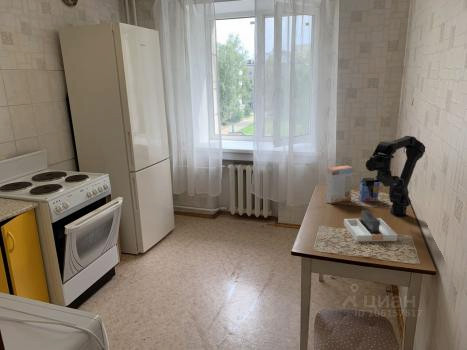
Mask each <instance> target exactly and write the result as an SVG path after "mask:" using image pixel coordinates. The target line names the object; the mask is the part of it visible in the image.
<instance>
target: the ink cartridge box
mask: <svg viewBox="0 0 467 350" xmlns="http://www.w3.org/2000/svg"><path fill="white" fill-rule="evenodd" d="M370 178H371V179H373V180H375V177H370ZM380 184H381V183H374V185H373V186H374V189H373V198H371V196H370V193H369V190H368V187H367V186H365V185H364V184H363V183H362V179H360V182H359V194H358V199H359V200H360V202H364V203H365V202H366V201H367V202H368V201H377V202H378V198H379V191H380Z"/></svg>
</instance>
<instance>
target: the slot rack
mask: <svg viewBox="0 0 467 350" xmlns="http://www.w3.org/2000/svg"><path fill="white" fill-rule="evenodd" d="M376 218H377V217H376ZM377 219H378V220H379V221H380V225H379V234H370V233H369V231H368V230H367V229H366V228H365V227H364V226H363V225H362V223H361V217H358V218H344V220H343V226H344V227H345V228H346V229H347V231H348V232H349V233H350V234H351V237H352V238H353V239H354V240H355V241H356V242H357V243H358V242H397V241H398V238H399V237H398V236H399V235H398V234H397V232H396V231H394V230H393V228H391V227H390V226H389V225H388V224H387V223H386V222H385V221H384V220H383V219H382V218H380V217H378V218H377Z"/></svg>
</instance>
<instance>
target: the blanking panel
mask: <svg viewBox="0 0 467 350" xmlns="http://www.w3.org/2000/svg"><path fill="white" fill-rule="evenodd" d="M360 218H361V223H362V225H363V226H364V227H365V228H366V229H367V230H368V231H369V233H370V234H379V225H380V221H379V220H378V219H377V217H375V215H374V214H373V213H371V211H370V210H368V209H362V210H361V216H360Z"/></svg>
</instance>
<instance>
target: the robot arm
mask: <svg viewBox="0 0 467 350" xmlns="http://www.w3.org/2000/svg"><path fill="white" fill-rule="evenodd" d="M403 148H404V149H405V156H406V160H405V163H404V165H403V168H402V171H401V173H400V176H398V175H392V171H391V165H392V159H395V156H394V154H395V153H396V152H397V150H399V149H403ZM425 148H426V146H425V144H424V143H423V142H421V141H420V140H419V139H418V138H417V137H415V136H413V135H405V136H404V137H400V138H397V139H394V140H392V141H380V142H378V144H377V146H376V147H375V149H374V151H373V153H372V155H371V156H370V157H369V159H368V160H367V161H366V162H365V168H366V170H368V171H369V172H374V171H376V176H375V179H374V180H373V179H371V178H372V177H363V178H362V179H361V180H362V183H363V184H364V185H365V186H367V187H368V190H369V193H370V196H371V198H373V189H374V186H373V185H374V183H380V184H382V185H383V186H384V187H386V188H387V187H389V188H388V189H389V190H388V191H389V192H388V196H389V202H390V203H392V204H391V206H390V207H391V208H390V214H392V215H393V216H394V217H407V216H408V214H407V208H408V207H409V206H410V205H411V202H412V201H411V199H410V197H409V194H410V193H409V189H408V186H409V183H410V181H411V178H412V175H413V173H414V170H415V167H416V164H417V162H418V161H419V160H421V159H422V158H423V155H424V154H425V152H426V151H425Z"/></svg>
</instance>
